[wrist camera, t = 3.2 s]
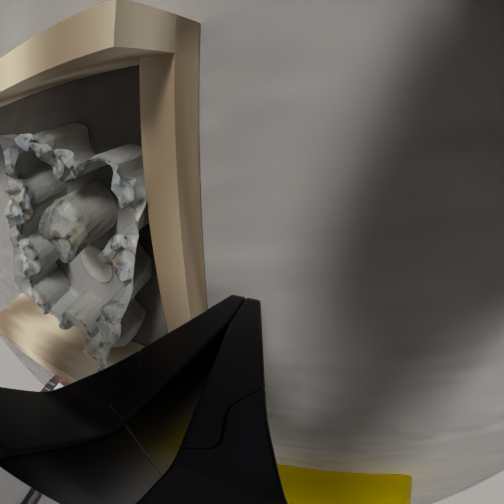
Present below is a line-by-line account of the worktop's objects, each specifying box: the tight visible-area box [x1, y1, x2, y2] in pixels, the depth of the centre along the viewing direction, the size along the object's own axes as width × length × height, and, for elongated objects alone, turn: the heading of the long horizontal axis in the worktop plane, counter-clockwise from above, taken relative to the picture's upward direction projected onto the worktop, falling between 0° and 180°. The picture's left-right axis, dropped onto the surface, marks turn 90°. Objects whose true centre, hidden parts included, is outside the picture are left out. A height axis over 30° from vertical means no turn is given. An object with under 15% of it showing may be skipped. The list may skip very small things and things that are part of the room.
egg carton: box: [0, 122, 152, 372], centre depth 11 cm, size 11×8×4 cm
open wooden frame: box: [0, 0, 207, 383], centre depth 12 cm, size 17×16×4 cm
